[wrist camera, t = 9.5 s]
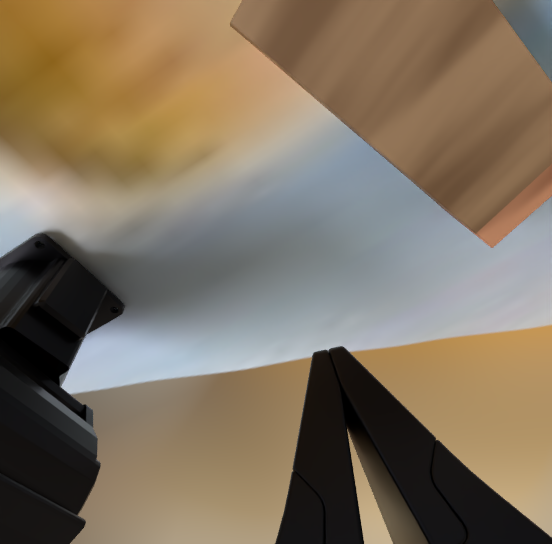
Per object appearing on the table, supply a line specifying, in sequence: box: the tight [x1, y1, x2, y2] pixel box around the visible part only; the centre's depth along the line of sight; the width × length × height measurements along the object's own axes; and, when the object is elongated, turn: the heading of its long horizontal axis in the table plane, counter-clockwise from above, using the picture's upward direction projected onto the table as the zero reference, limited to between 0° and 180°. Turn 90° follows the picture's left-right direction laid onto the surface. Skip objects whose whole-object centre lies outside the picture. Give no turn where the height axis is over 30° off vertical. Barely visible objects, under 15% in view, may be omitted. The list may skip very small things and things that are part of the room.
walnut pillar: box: [230, 0, 552, 248], centre depth 16 cm, size 4×6×16 cm
